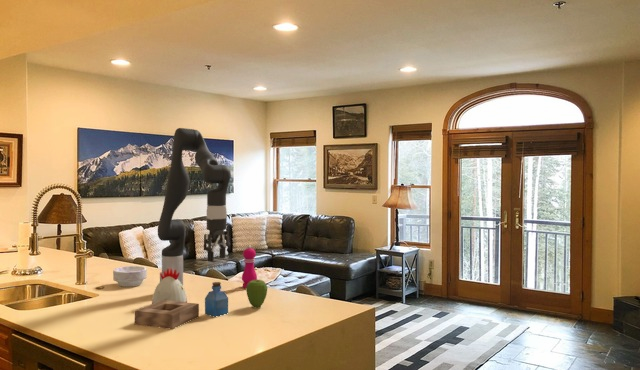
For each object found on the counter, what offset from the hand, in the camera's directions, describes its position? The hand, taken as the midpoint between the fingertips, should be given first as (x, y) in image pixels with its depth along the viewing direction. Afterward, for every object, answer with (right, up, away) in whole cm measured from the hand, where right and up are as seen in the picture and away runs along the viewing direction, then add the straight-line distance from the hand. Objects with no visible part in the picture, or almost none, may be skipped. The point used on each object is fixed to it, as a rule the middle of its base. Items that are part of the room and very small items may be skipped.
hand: (216, 259), depth 192 cm
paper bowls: (-52, -20, +51) cm, 76 cm away
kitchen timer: (-22, -21, +13) cm, 33 cm away
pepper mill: (+6, -20, +47) cm, 52 cm away
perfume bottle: (0, -21, 0) cm, 21 cm away
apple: (+14, -21, +10) cm, 27 cm away
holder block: (-16, -21, -9) cm, 28 cm away
